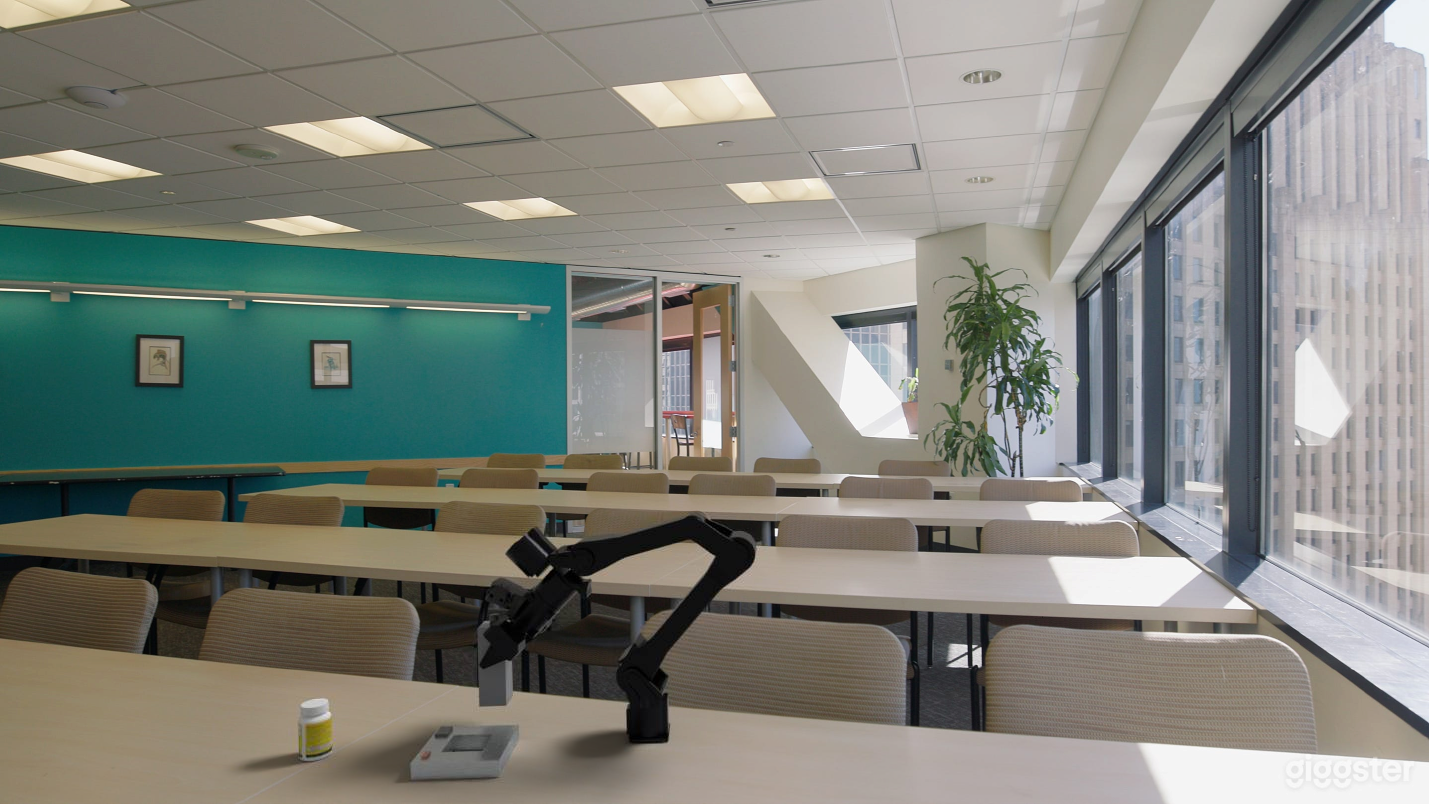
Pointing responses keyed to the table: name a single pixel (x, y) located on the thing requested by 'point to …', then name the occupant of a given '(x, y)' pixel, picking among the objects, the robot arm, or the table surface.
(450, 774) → the socket
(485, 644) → the plug
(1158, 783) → the table surface
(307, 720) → the supplement bottle
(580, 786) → the table surface
